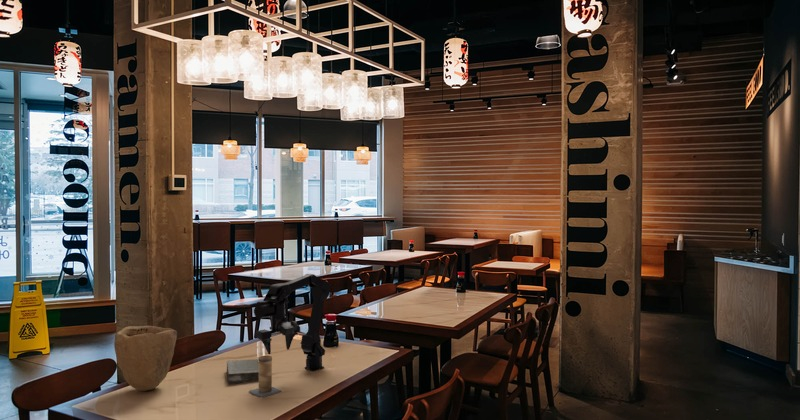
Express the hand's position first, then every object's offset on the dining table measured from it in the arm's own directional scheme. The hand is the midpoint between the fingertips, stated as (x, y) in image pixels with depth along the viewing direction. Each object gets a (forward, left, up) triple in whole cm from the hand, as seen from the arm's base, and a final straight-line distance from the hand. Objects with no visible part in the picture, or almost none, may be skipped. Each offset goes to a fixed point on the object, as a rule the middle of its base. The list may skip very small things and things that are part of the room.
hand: (278, 351), depth 225 cm
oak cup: (+12, +8, -11) cm, 18 cm away
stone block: (+6, -17, -13) cm, 22 cm away
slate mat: (+12, +8, -12) cm, 19 cm away
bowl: (+42, -30, -12) cm, 53 cm away
